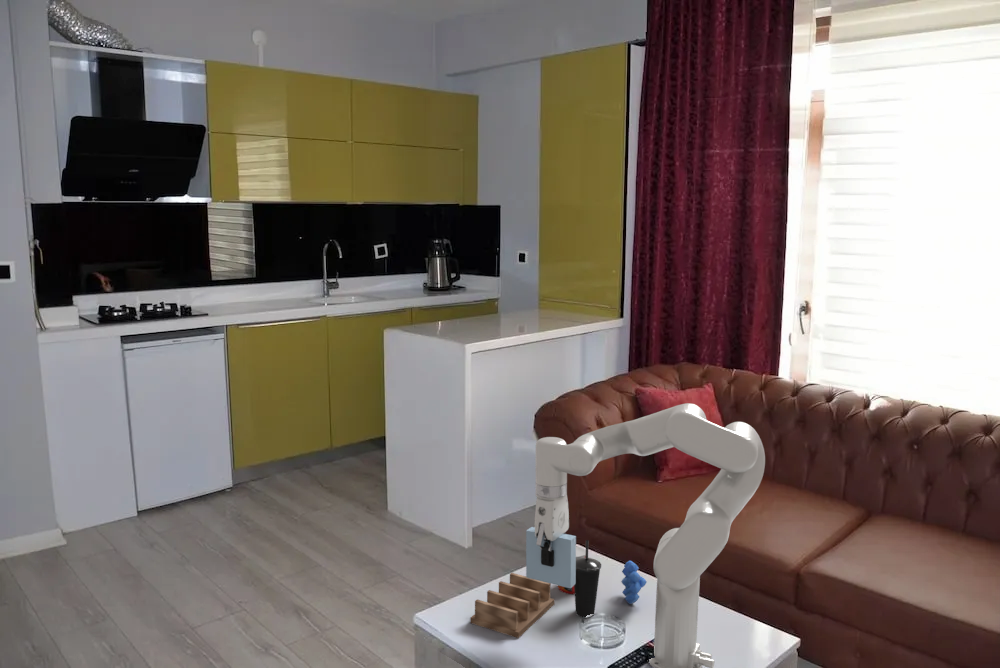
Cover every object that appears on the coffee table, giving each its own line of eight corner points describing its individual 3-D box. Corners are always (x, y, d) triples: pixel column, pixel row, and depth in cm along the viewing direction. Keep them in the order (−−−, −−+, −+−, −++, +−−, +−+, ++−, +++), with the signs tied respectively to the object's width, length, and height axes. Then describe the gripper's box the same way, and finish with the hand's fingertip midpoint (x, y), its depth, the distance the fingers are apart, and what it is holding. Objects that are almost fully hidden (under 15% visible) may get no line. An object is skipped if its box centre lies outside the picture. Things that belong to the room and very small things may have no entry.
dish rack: (554, 604, 200) (554, 583, 199) (518, 638, 183) (518, 615, 182) (509, 591, 207) (509, 571, 206) (470, 623, 190) (470, 600, 189)
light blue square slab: (575, 583, 179) (575, 536, 178) (570, 588, 177) (571, 540, 175) (531, 573, 185) (531, 526, 184) (526, 577, 183) (526, 530, 181)
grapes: (651, 613, 196) (653, 570, 194) (626, 614, 195) (627, 570, 194) (640, 592, 207) (642, 551, 206) (616, 593, 207) (618, 551, 205)
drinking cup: (598, 622, 191) (601, 547, 188) (569, 618, 192) (571, 544, 190) (600, 607, 198) (603, 536, 196) (572, 604, 200) (574, 533, 197)
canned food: (552, 585, 211) (553, 548, 210) (576, 580, 214) (577, 543, 213) (566, 597, 204) (567, 558, 203) (590, 591, 207) (592, 554, 206)
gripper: (550, 502, 169) (549, 579, 172) (579, 482, 183) (578, 553, 186) (521, 496, 173) (521, 572, 175) (552, 477, 187) (551, 547, 189)
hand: (550, 561), depth 180 cm, fingers closed on light blue square slab, 2 cm apart
